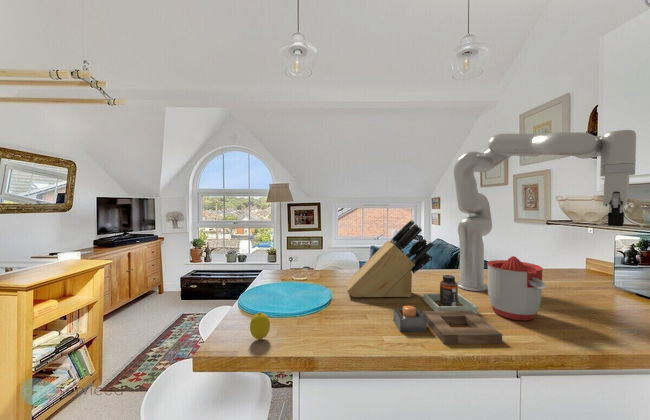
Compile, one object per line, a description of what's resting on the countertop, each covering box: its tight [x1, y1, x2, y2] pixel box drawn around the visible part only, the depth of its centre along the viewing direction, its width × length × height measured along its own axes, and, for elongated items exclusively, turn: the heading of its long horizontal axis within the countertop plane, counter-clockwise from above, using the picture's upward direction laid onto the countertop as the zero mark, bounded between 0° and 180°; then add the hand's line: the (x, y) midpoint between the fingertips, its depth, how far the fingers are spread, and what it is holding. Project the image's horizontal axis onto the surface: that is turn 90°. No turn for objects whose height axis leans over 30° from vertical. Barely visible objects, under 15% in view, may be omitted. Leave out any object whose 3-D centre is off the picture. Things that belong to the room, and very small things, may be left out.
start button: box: [402, 305, 417, 317], centre depth 85 cm, size 4×4×4 cm
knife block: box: [345, 219, 435, 298], centre depth 114 cm, size 11×35×31 cm, turn 89°
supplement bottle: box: [439, 274, 459, 306], centre depth 100 cm, size 6×6×11 cm
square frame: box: [422, 310, 503, 345], centre depth 82 cm, size 16×16×2 cm
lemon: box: [249, 311, 271, 341], centre depth 78 cm, size 6×6×8 cm
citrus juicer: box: [486, 255, 547, 321], centre depth 92 cm, size 16×17×20 cm
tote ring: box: [423, 292, 478, 315], centre depth 100 cm, size 14×14×2 cm
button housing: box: [392, 307, 428, 333], centre depth 85 cm, size 8×8×4 cm
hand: (615, 224), depth 86 cm, fingers open, 9 cm apart
